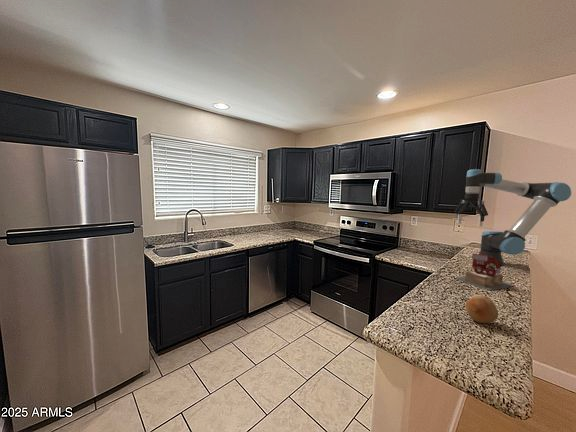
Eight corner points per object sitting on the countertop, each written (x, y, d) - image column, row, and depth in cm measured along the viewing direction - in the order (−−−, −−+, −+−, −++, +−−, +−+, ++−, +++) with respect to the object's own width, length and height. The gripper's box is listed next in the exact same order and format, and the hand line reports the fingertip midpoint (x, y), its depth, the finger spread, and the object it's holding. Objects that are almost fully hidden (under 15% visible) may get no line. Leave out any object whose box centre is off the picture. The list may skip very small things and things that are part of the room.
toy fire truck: (499, 278, 127) (501, 258, 125) (470, 272, 135) (472, 254, 134) (499, 274, 132) (501, 256, 131) (471, 269, 140) (473, 252, 139)
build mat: (478, 275, 147) (478, 274, 147) (514, 286, 130) (514, 285, 130) (455, 278, 141) (455, 277, 141) (489, 290, 124) (489, 289, 124)
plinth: (482, 278, 141) (482, 269, 140) (501, 284, 132) (502, 275, 131) (465, 280, 136) (466, 271, 136) (484, 287, 127) (485, 277, 126)
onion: (464, 312, 101) (467, 289, 100) (496, 320, 95) (499, 296, 94) (463, 321, 93) (465, 297, 92) (497, 331, 87) (500, 305, 86)
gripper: (449, 192, 170) (447, 222, 172) (489, 193, 147) (485, 227, 149) (457, 193, 173) (455, 222, 175) (497, 193, 149) (493, 227, 151)
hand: (469, 225), depth 162 cm, fingers open, 13 cm apart
